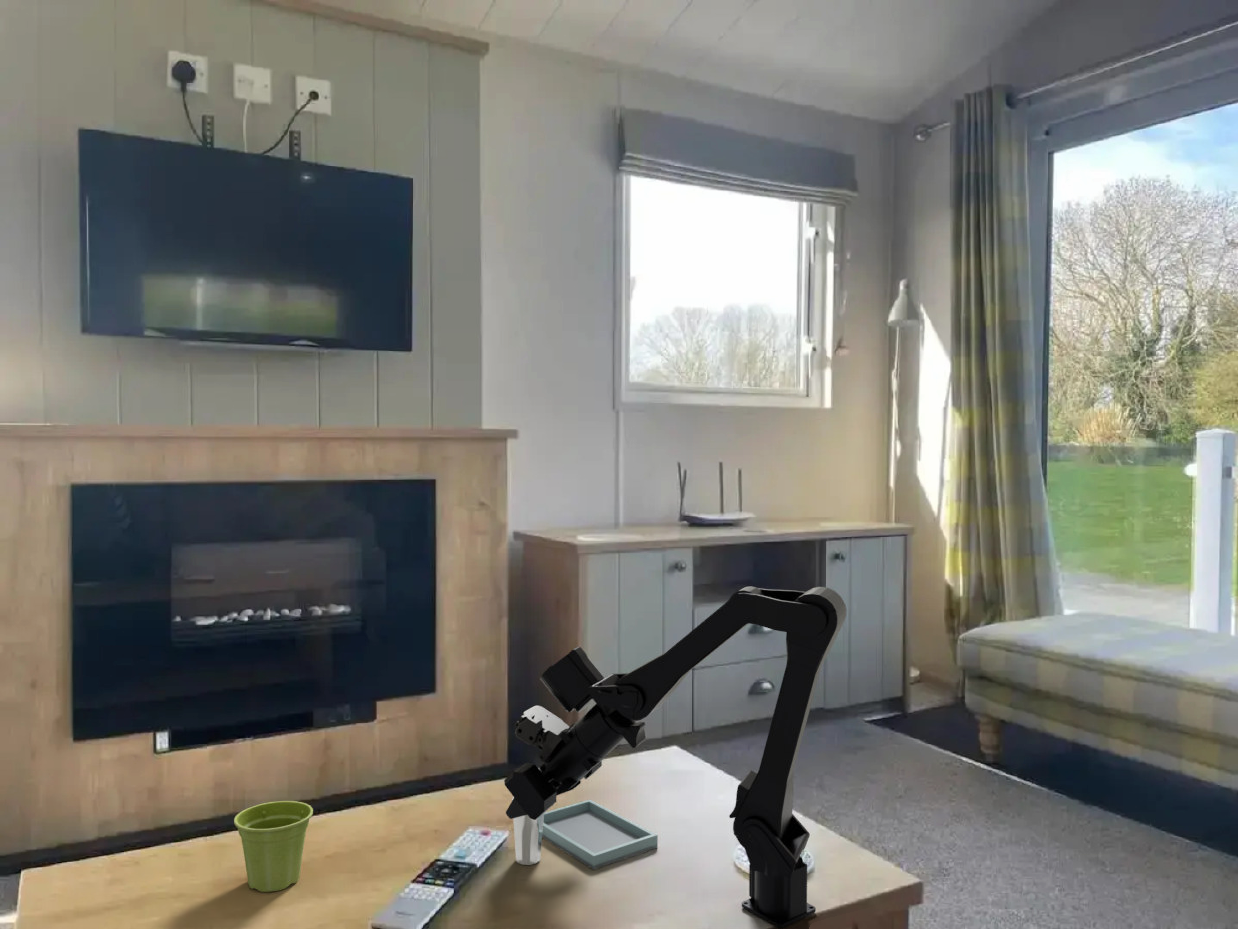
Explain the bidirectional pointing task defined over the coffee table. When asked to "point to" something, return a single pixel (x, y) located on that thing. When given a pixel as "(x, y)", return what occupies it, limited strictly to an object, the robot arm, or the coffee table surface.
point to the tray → (596, 834)
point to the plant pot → (273, 842)
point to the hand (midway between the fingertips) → (516, 809)
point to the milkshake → (528, 839)
